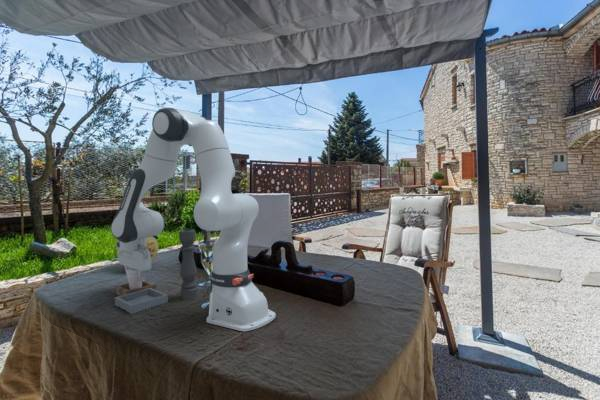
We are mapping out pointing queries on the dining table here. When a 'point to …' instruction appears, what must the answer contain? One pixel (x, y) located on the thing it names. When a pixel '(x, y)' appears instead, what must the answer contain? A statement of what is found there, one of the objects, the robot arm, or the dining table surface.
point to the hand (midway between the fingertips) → (135, 278)
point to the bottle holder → (125, 289)
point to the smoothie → (133, 278)
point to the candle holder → (188, 265)
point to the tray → (141, 300)
